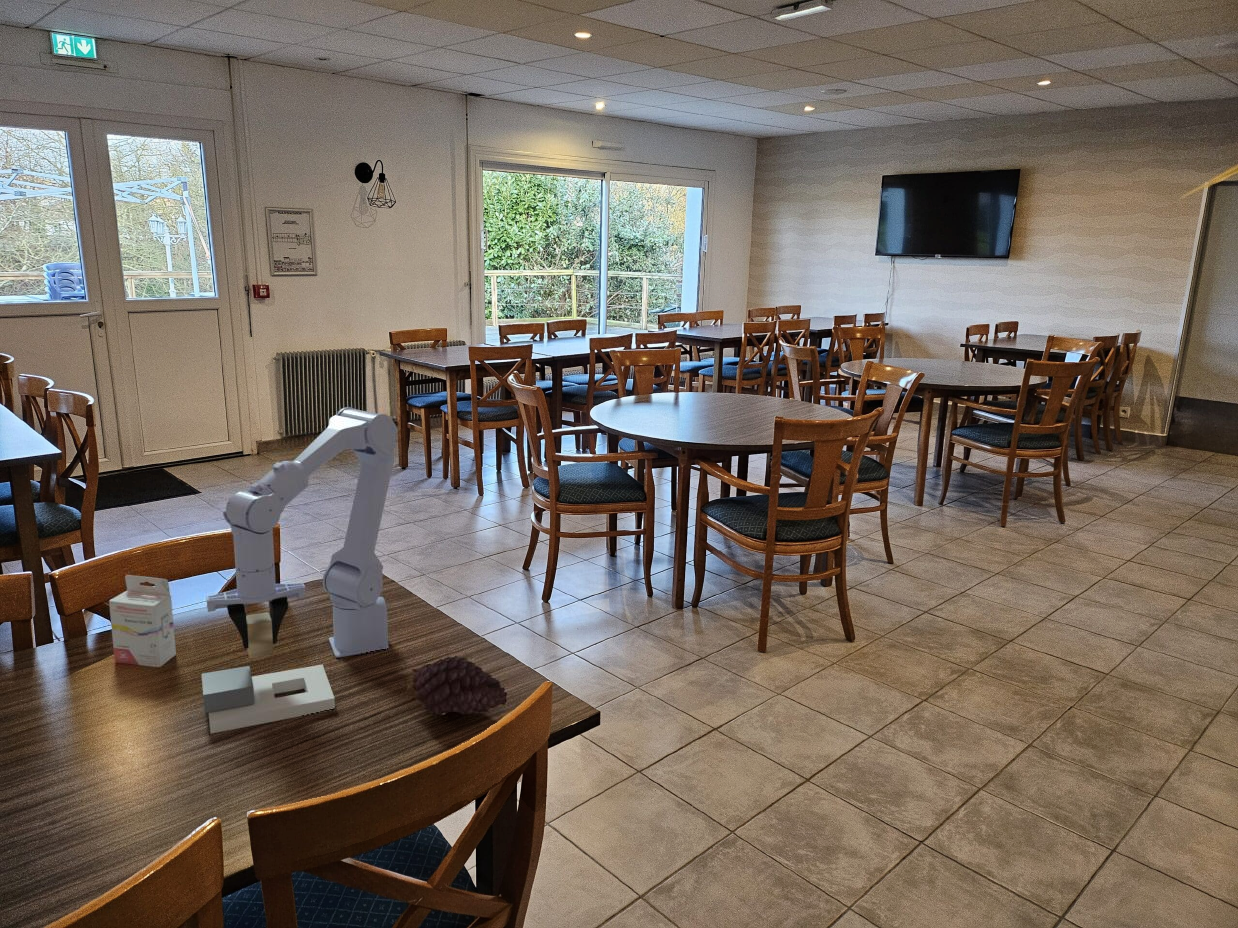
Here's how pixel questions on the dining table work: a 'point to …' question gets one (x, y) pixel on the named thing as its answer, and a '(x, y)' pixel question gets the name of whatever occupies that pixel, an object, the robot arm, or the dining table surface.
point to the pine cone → (456, 687)
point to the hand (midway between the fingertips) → (259, 643)
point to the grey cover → (227, 688)
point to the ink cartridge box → (143, 623)
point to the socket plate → (278, 699)
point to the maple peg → (259, 635)
